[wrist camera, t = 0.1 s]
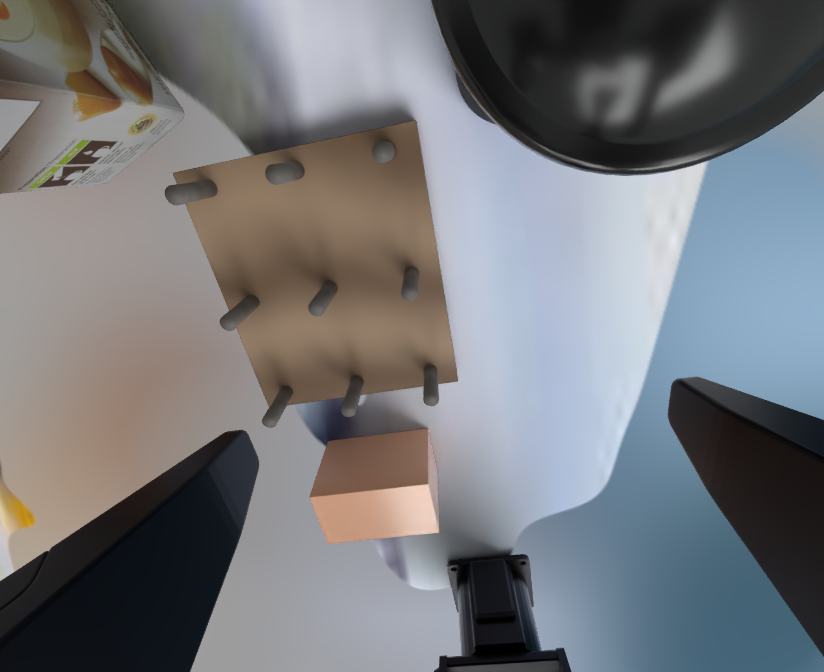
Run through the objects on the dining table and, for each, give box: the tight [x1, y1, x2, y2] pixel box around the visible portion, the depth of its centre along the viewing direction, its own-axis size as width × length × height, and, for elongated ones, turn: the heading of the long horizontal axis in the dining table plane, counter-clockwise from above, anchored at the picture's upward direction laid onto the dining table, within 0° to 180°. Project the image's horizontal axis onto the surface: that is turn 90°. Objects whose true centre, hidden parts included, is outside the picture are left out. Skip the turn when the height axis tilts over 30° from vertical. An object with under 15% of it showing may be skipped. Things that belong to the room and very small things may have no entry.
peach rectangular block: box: [309, 428, 439, 544], centre depth 26 cm, size 4×7×5 cm, turn 101°
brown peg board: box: [165, 121, 458, 428], centre depth 21 cm, size 14×12×4 cm
